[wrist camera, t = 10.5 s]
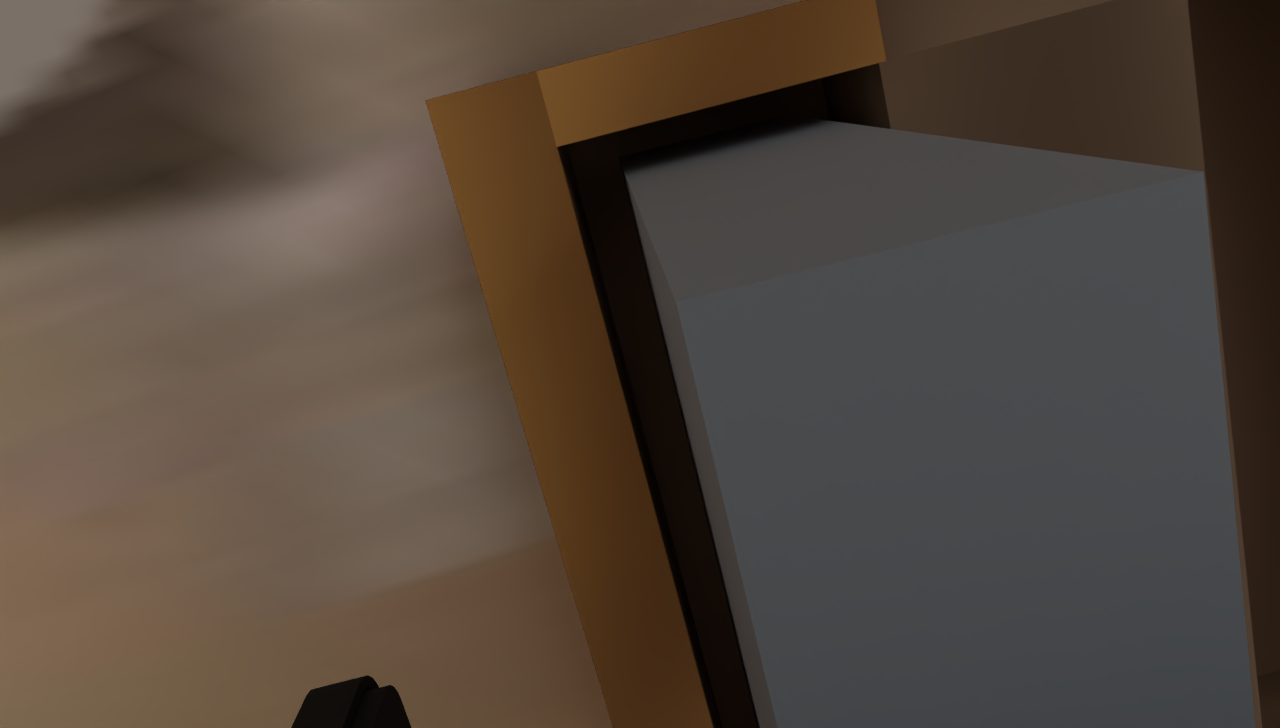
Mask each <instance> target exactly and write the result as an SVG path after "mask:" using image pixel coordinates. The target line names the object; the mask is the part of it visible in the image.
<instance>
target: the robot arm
mask: <svg viewBox="0 0 1280 728" xmlns="http://www.w3.org/2000/svg"><path fill="white" fill-rule="evenodd" d="M292 728H411V726H410V723H409V720H408V717H407V715H406V712H405V709H404V706H403V703H402V701H401V698H400V696H399V694H398V692H397V690H396V689H395V687H393V686H392V685H389V686H385V687H381V688H379V686H378V685H377V683H376V682H375V680H374V679H373V678H372V677H370V676H368V675H367V676H364V677H360V678H356V679H352V680H348V681H344V682H340V683H336V684H332V685H328V686H324V687H320V688H316V689H313V690H310V692H309V693H308V694H307V696H306V698H305V700H304V702H303V704H302V706H301V708H300V710H299V713H298V715H297V717H296V719H295V721H294V723H293V725H292Z"/></svg>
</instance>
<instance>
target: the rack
mask: <svg viewBox="0 0 1280 728" xmlns="http://www.w3.org/2000/svg"><path fill="white" fill-rule="evenodd" d="M425 101H426V104H427V107H428V111H429V114H430V117H431V121H432V124H433V128H434V131H435V134H436V138H437V141H438V144H439V148H440V151H441V154H442V158H443V161H444V164H445V168H446V171H447V174H448V178H449V181H450V184H451V188H452V191H453V194H454V198H455V201H456V204H457V208H458V211H459V214H460V218H461V221H462V224H463V228H464V231H465V234H466V238H467V241H468V244H469V248H470V251H471V254H472V258H473V261H474V264H475V268H476V271H477V275H478V278H479V281H480V285H481V288H482V291H483V295H484V298H485V301H486V305H487V308H488V311H489V315H490V318H491V321H492V325H493V328H494V331H495V335H496V338H497V341H498V345H499V348H500V351H501V355H502V358H503V361H504V365H505V368H506V371H507V375H508V378H509V381H510V385H511V388H512V391H513V395H514V398H515V401H516V405H517V408H518V411H519V415H520V418H521V421H522V425H523V428H524V432H525V435H526V438H527V442H528V445H529V448H530V452H531V455H532V458H533V462H534V465H535V468H536V472H537V475H538V478H539V482H540V485H541V488H542V492H543V495H544V498H545V502H546V505H547V508H548V512H549V515H550V518H551V522H552V525H553V528H554V532H555V535H556V538H557V542H558V545H559V548H560V552H561V555H562V558H563V562H564V565H565V568H566V572H567V575H568V578H569V582H570V585H571V589H572V592H573V595H574V599H575V602H576V605H577V609H578V612H579V615H580V619H581V622H582V625H583V629H584V632H585V635H586V639H587V642H588V645H589V649H590V652H591V655H592V659H593V662H594V665H595V669H596V672H597V675H598V679H599V682H600V685H601V689H602V692H603V695H604V699H605V702H606V705H607V709H608V712H609V715H610V719H611V722H612V725H613V728H758V727H757V723H756V719H755V715H754V711H753V707H752V703H751V699H750V695H749V691H748V686H747V682H746V678H745V674H744V670H743V666H742V662H741V658H740V654H739V650H738V645H737V641H736V637H735V633H734V629H733V625H732V621H731V617H730V613H729V609H728V605H727V600H726V596H725V592H724V588H723V584H722V580H721V576H720V572H719V568H718V564H717V560H716V555H715V551H714V547H713V543H712V539H711V535H710V531H709V527H708V523H707V519H706V515H705V510H704V506H703V502H702V498H701V494H700V490H699V486H698V482H697V478H696V474H695V470H694V465H693V461H692V457H691V453H690V449H689V445H688V441H687V437H686V433H685V429H684V424H683V420H682V416H681V412H680V408H679V404H678V400H677V396H676V392H675V388H674V384H673V379H672V375H671V371H670V367H669V363H668V359H667V355H666V351H665V347H664V343H663V339H662V334H661V330H660V326H659V322H658V318H657V314H656V310H655V306H654V302H653V298H652V294H651V289H650V285H649V281H648V277H647V273H646V269H645V265H644V261H643V257H642V253H641V249H640V244H639V240H638V236H637V232H636V228H635V224H634V220H633V216H632V212H631V208H630V204H629V199H628V195H627V191H626V187H625V183H624V179H623V175H622V171H621V167H620V163H619V158H618V157H621V156H625V155H629V154H633V153H637V152H641V151H645V150H649V149H653V148H657V147H661V146H665V145H669V144H673V143H677V142H681V141H685V140H689V139H693V138H697V137H701V136H705V135H709V134H713V133H717V132H721V131H725V130H729V129H733V128H737V127H741V126H745V125H749V124H753V123H757V122H761V121H765V120H769V119H773V118H777V117H781V116H785V115H791V116H799V117H806V118H813V119H820V120H828V121H835V122H842V123H850V124H857V125H864V126H872V127H879V128H886V129H894V130H901V131H908V132H916V133H923V134H930V135H938V136H945V137H952V138H960V139H967V140H974V141H982V142H989V143H996V144H1004V145H1011V146H1018V147H1026V148H1033V149H1040V150H1048V151H1055V152H1062V153H1070V154H1077V155H1084V156H1091V157H1099V158H1106V159H1113V160H1121V161H1128V162H1135V163H1143V164H1150V165H1157V166H1165V167H1172V168H1179V169H1187V170H1194V171H1201V172H1203V173H1204V184H1205V194H1206V205H1207V216H1208V226H1209V237H1210V247H1211V258H1212V269H1213V279H1214V290H1215V301H1216V311H1217V322H1218V333H1219V343H1220V354H1221V365H1222V375H1223V386H1224V397H1225V407H1226V418H1227V429H1228V439H1229V450H1230V461H1231V471H1232V482H1233V493H1234V503H1235V514H1236V525H1237V535H1238V546H1239V557H1240V567H1241V578H1242V589H1243V599H1244V610H1245V621H1246V631H1247V642H1248V652H1249V663H1250V674H1251V684H1252V695H1253V706H1254V716H1255V727H1256V728H1280V0H805V1H801V2H798V3H794V4H790V5H786V6H782V7H779V8H775V9H771V10H767V11H763V12H760V13H756V14H752V15H748V16H744V17H741V18H737V19H733V20H729V21H725V22H722V23H718V24H714V25H710V26H706V27H703V28H699V29H695V30H691V31H687V32H684V33H680V34H676V35H672V36H668V37H665V38H661V39H657V40H653V41H649V42H646V43H642V44H638V45H634V46H630V47H627V48H623V49H619V50H615V51H611V52H608V53H604V54H600V55H596V56H592V57H588V58H585V59H581V60H577V61H573V62H569V63H566V64H562V65H558V66H554V67H550V68H547V69H543V70H539V71H535V72H531V73H528V74H524V75H520V76H516V77H512V78H509V79H505V80H501V81H497V82H493V83H490V84H486V85H482V86H478V87H474V88H471V89H467V90H463V91H459V92H455V93H452V94H448V95H444V96H440V97H436V98H433V99H429V100H425Z"/></svg>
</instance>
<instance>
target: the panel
mask: <svg viewBox="0 0 1280 728" xmlns="http://www.w3.org/2000/svg"><path fill="white" fill-rule="evenodd" d="M618 158H619V163H620V167H621V171H622V175H623V179H624V183H625V187H626V191H627V195H628V199H629V204H630V208H631V212H632V216H633V220H634V224H635V228H636V232H637V236H638V240H639V244H640V249H641V253H642V257H643V261H644V265H645V269H646V273H647V277H648V281H649V285H650V289H651V294H652V298H653V302H654V306H655V310H656V314H657V318H658V322H659V326H660V330H661V334H662V339H663V343H664V347H665V351H666V355H667V359H668V363H669V367H670V371H671V375H672V379H673V384H674V388H675V392H676V396H677V400H678V404H679V408H680V412H681V416H682V420H683V424H684V429H685V433H686V437H687V441H688V445H689V449H690V453H691V457H692V461H693V465H694V470H695V474H696V478H697V482H698V486H699V490H700V494H701V498H702V502H703V506H704V510H705V515H706V519H707V523H708V527H709V531H710V535H711V539H712V543H713V547H714V551H715V555H716V560H717V564H718V568H719V572H720V576H721V580H722V584H723V588H724V592H725V596H726V600H727V605H728V609H729V613H730V617H731V621H732V625H733V629H734V633H735V637H736V641H737V645H738V650H739V654H740V658H741V662H742V666H743V670H744V674H745V678H746V682H747V686H748V691H749V695H750V699H751V703H752V707H753V711H754V715H755V719H756V723H757V727H758V728H1256V727H1255V716H1254V706H1253V695H1252V684H1251V674H1250V663H1249V652H1248V642H1247V631H1246V621H1245V610H1244V599H1243V589H1242V578H1241V567H1240V557H1239V546H1238V535H1237V525H1236V514H1235V503H1234V493H1233V482H1232V471H1231V461H1230V450H1229V439H1228V429H1227V418H1226V407H1225V397H1224V386H1223V375H1222V365H1221V354H1220V343H1219V333H1218V322H1217V311H1216V301H1215V290H1214V279H1213V269H1212V258H1211V247H1210V237H1209V226H1208V216H1207V205H1206V194H1205V184H1204V173H1203V172H1201V171H1194V170H1187V169H1179V168H1172V167H1165V166H1157V165H1150V164H1143V163H1135V162H1128V161H1121V160H1113V159H1106V158H1099V157H1091V156H1084V155H1077V154H1070V153H1062V152H1055V151H1048V150H1040V149H1033V148H1026V147H1018V146H1011V145H1004V144H996V143H989V142H982V141H974V140H967V139H960V138H952V137H945V136H938V135H930V134H923V133H916V132H908V131H901V130H894V129H886V128H879V127H872V126H864V125H857V124H850V123H842V122H835V121H828V120H820V119H813V118H806V117H799V116H791V115H785V116H781V117H777V118H773V119H769V120H765V121H761V122H757V123H753V124H749V125H745V126H741V127H737V128H733V129H729V130H725V131H721V132H717V133H713V134H709V135H705V136H701V137H697V138H693V139H689V140H685V141H681V142H677V143H673V144H669V145H665V146H661V147H657V148H653V149H649V150H645V151H641V152H637V153H633V154H629V155H625V156H621V157H618Z"/></svg>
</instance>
